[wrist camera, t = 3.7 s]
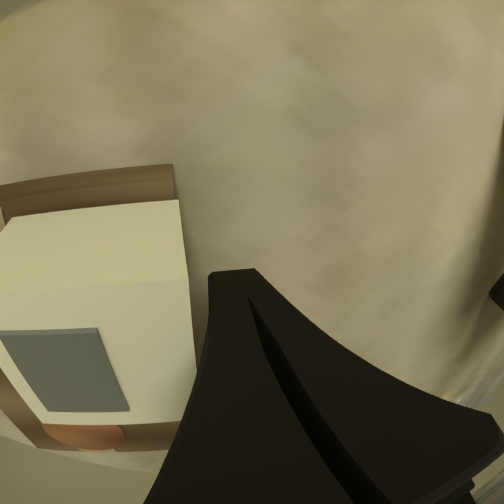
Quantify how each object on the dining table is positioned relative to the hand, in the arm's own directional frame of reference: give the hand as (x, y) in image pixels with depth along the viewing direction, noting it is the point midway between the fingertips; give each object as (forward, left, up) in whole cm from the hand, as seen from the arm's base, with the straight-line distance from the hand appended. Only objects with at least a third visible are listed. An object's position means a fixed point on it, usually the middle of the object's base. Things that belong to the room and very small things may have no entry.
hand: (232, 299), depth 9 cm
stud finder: (0, +4, -1) cm, 4 cm away
